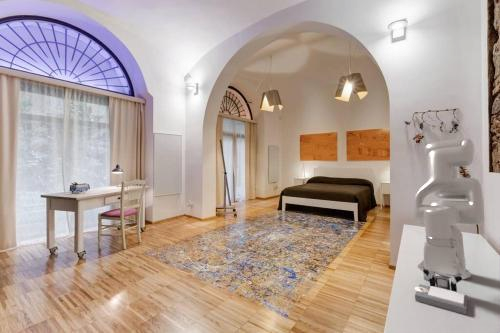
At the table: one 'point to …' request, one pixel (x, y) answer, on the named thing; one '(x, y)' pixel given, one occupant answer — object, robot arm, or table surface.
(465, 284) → the table surface
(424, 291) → the scale
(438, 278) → the cylinder
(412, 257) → the table surface
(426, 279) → the cylinder
